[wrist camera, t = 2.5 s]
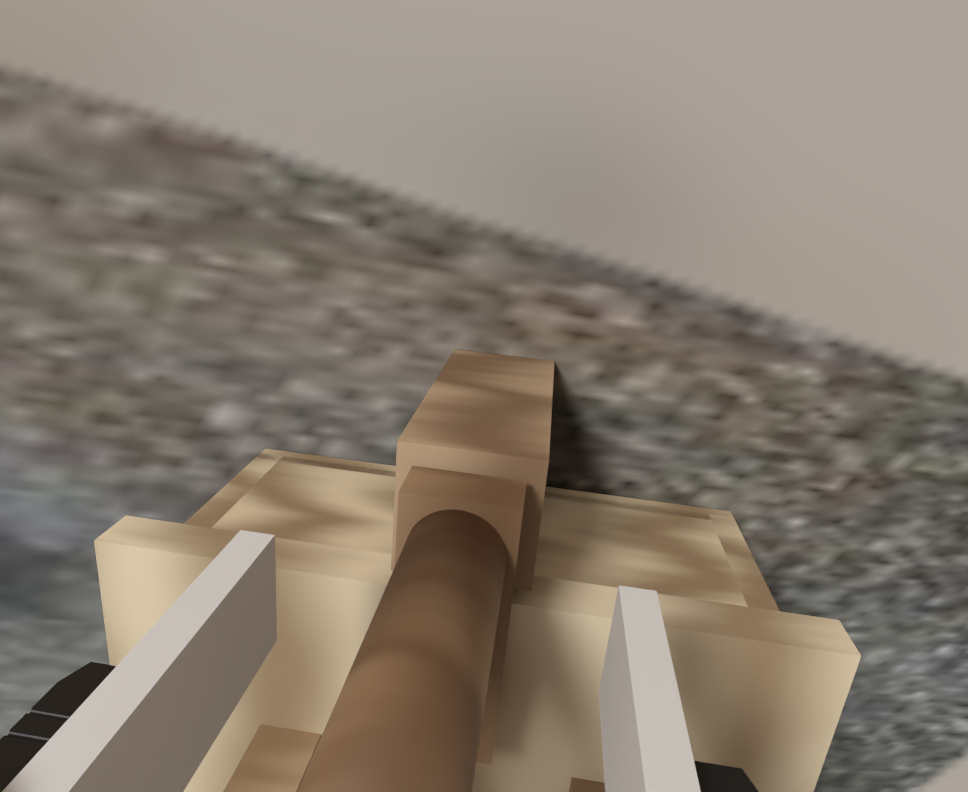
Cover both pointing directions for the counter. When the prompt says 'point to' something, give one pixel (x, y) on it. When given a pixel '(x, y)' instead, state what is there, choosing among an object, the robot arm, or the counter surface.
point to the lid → (526, 674)
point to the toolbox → (507, 454)
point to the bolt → (430, 644)
